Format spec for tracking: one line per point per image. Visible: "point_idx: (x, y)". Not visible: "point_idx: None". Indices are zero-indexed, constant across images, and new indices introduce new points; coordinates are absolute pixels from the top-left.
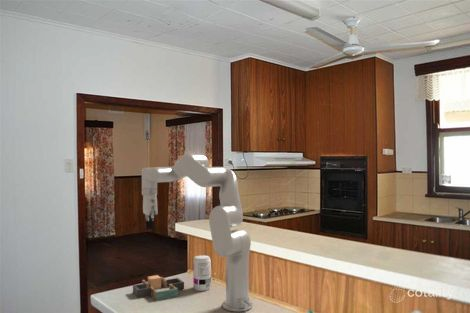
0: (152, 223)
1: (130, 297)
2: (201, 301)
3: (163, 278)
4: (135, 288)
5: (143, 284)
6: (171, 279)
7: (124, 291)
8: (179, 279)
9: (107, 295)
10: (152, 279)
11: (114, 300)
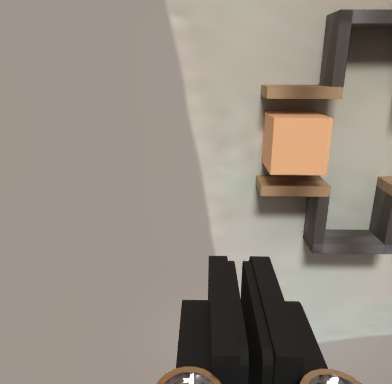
0: (284, 324)
1: (348, 258)
2: None
3: (300, 91)
4: (355, 252)
5: (327, 209)
6: (346, 57)
7: None
8: (377, 13)
9: None
10: (327, 166)
11: (340, 311)
